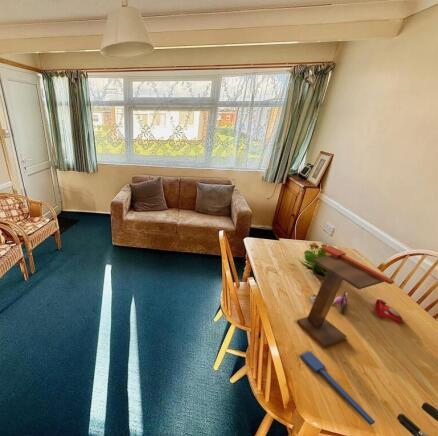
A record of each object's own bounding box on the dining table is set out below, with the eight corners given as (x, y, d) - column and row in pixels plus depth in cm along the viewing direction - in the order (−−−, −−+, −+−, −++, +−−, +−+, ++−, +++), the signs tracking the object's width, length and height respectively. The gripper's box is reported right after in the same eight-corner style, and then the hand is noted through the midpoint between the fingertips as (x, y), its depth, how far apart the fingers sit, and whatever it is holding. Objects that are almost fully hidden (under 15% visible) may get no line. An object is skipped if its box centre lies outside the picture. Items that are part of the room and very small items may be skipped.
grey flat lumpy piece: (318, 295, 113) (319, 292, 112) (332, 307, 106) (333, 304, 105) (305, 296, 112) (307, 293, 111) (319, 309, 105) (320, 306, 104)
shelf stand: (352, 342, 90) (389, 278, 76) (326, 352, 86) (359, 287, 73) (314, 311, 104) (340, 253, 90) (290, 319, 100) (313, 259, 86)
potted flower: (354, 275, 127) (366, 248, 119) (349, 297, 111) (363, 269, 104) (302, 257, 142) (310, 232, 135) (292, 275, 127) (301, 248, 120)
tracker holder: (409, 320, 98) (396, 320, 95) (400, 325, 100) (386, 326, 97) (382, 295, 107) (369, 295, 104) (374, 301, 110) (361, 300, 107)
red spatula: (395, 282, 74) (397, 279, 74) (387, 285, 73) (388, 282, 73) (329, 247, 93) (330, 245, 93) (321, 249, 92) (322, 247, 92)
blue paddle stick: (377, 421, 67) (378, 419, 66) (366, 427, 66) (368, 425, 65) (309, 353, 86) (310, 351, 85) (300, 356, 85) (301, 354, 84)
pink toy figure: (343, 301, 101) (347, 291, 106) (329, 298, 105) (333, 288, 110) (344, 314, 102) (348, 304, 107) (330, 310, 106) (334, 301, 111)
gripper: (486, 527, 43) (385, 427, 58) (533, 497, 46) (425, 410, 61) (506, 508, 41) (395, 409, 56) (554, 478, 44) (436, 391, 58)
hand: (411, 409), depth 58 cm, fingers open, 8 cm apart
